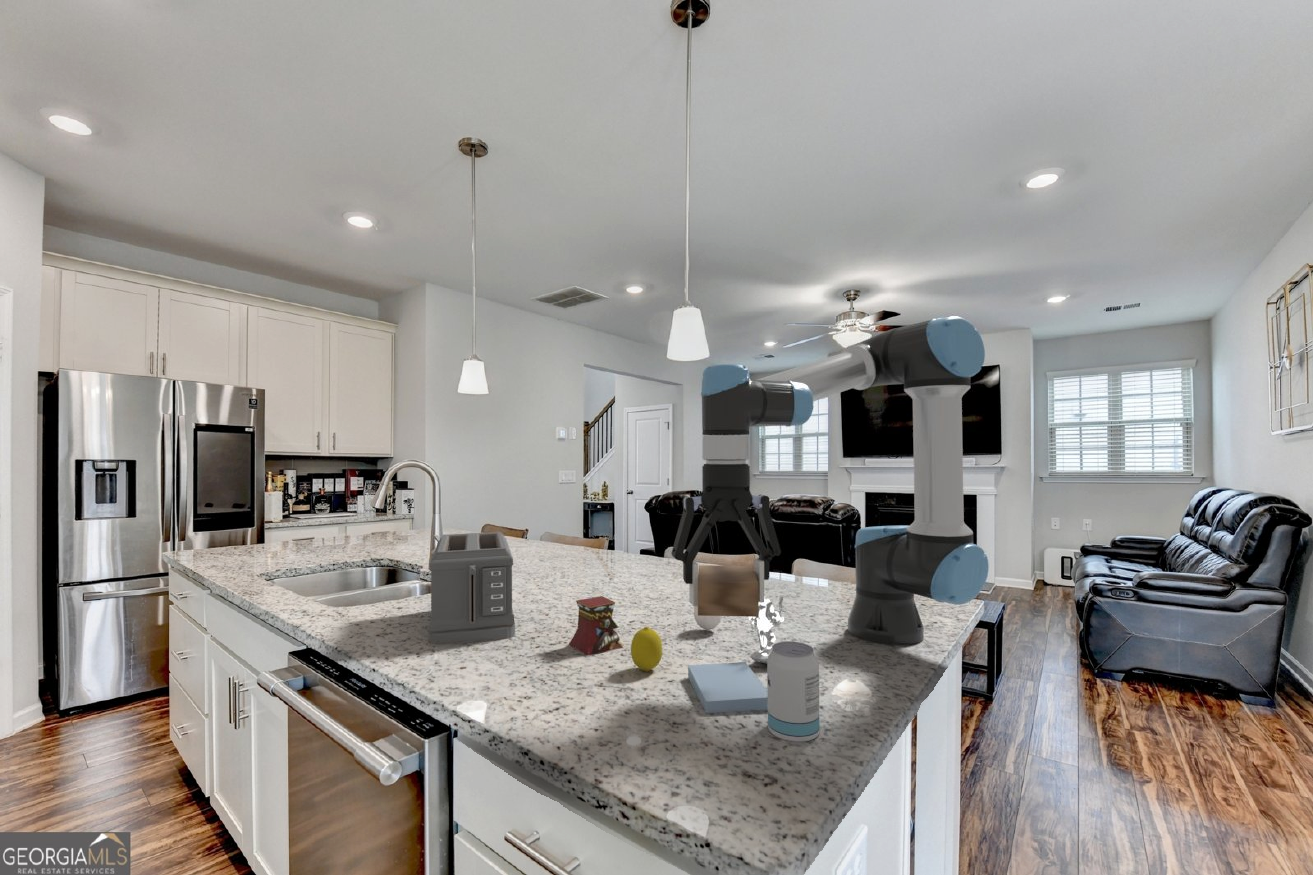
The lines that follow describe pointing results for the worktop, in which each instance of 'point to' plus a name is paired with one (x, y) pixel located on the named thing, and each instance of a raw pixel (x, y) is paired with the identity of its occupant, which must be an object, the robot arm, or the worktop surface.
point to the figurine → (766, 628)
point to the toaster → (471, 589)
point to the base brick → (728, 687)
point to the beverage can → (793, 692)
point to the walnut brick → (727, 591)
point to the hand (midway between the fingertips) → (726, 602)
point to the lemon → (646, 649)
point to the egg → (706, 620)
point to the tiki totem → (595, 627)
